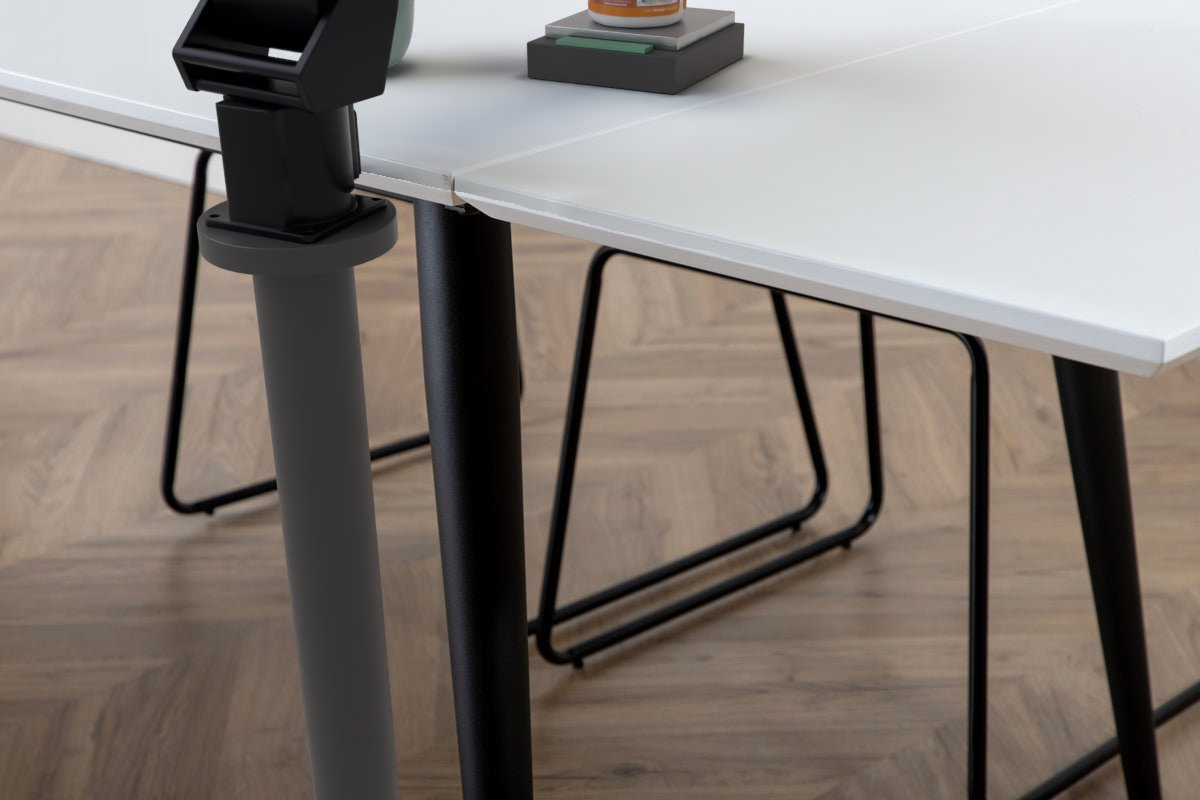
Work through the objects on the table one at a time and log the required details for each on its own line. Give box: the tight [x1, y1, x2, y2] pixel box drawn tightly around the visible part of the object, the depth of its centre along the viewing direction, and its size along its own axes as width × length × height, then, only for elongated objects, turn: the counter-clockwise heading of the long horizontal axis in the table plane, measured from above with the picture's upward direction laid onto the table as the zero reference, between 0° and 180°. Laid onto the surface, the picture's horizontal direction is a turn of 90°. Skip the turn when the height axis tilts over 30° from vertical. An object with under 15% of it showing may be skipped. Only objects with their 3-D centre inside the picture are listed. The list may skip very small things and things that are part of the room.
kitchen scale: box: [526, 6, 745, 95], centre depth 92 cm, size 11×10×3 cm
